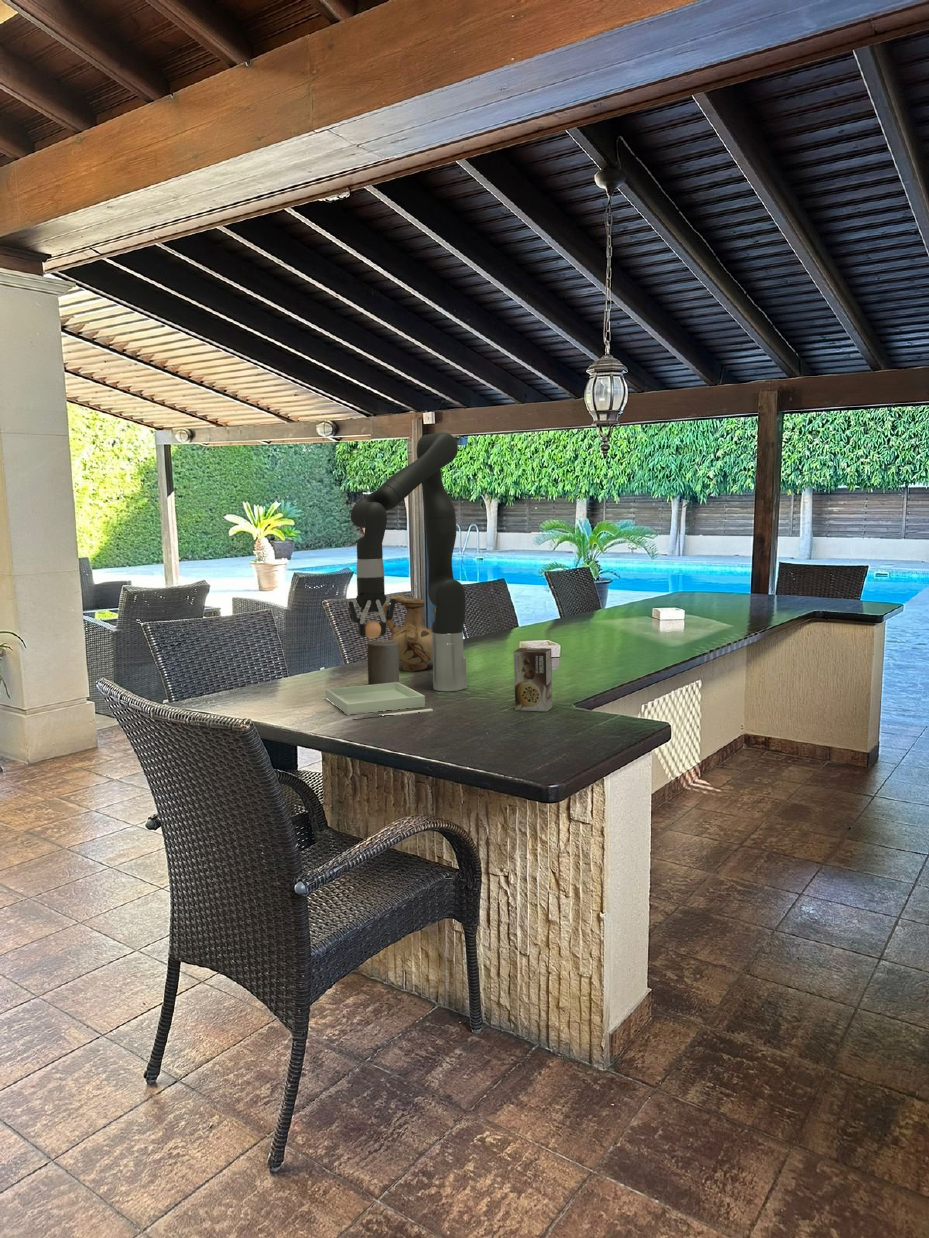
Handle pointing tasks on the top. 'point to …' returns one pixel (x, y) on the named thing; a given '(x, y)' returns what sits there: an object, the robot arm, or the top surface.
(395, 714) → the strip
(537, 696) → the coffee box
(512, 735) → the top surface
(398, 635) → the ceramic vessel
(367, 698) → the tray
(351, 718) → the top surface
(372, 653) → the pillar candle
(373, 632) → the ball
